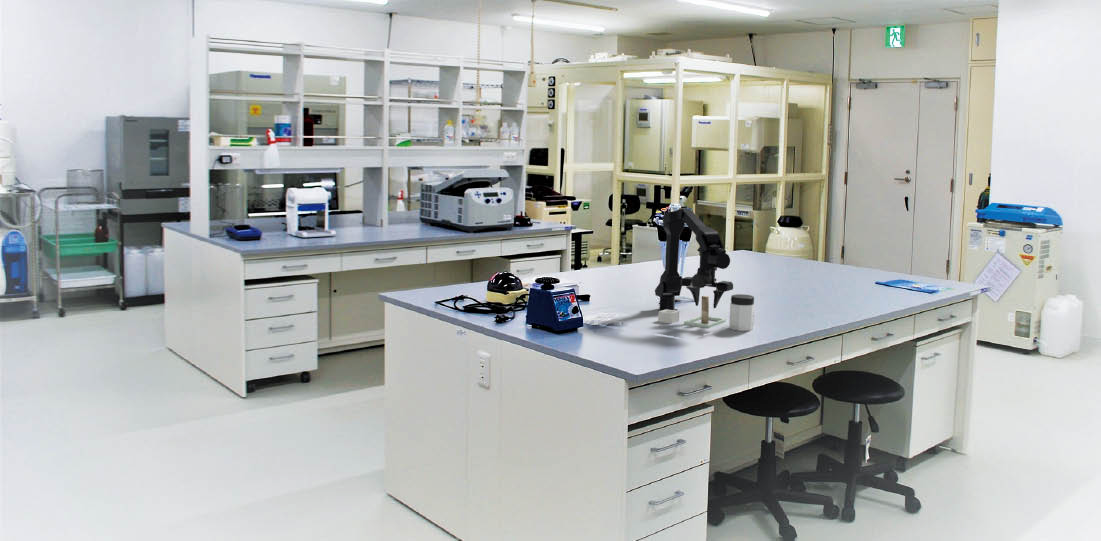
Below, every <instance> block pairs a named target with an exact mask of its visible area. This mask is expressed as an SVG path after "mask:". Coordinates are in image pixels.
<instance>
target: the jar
mask: <svg viewBox="0 0 1101 541" xmlns="http://www.w3.org/2000/svg"><path fill="white" fill-rule="evenodd" d="M754 319H755V296H754V295H751V294H741V293H740V294H737V293H736V294H732V295H731V297H730V305H729V324H728V326H729V327H728V328H729V330H733V331H738V332H751V331H752V330H753V329H754V323H755V322H754Z"/></svg>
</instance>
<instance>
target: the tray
mask: <svg viewBox="0 0 1101 541" xmlns="http://www.w3.org/2000/svg"><path fill="white" fill-rule="evenodd" d="M700 320H701V315H700V316H697V317H694V318H690V319H688V320H685V321H684V322H683V325H686V326H687V325H688V326H691V327H699V328H706V329H710V328H713V327H716V326H719V325H721V324H724V323H726V322H727V319H726V318H720V317H715V316H714V317H713V316H709V321H714V322H712V323H708V324H703V323H701V322H697V321H700Z"/></svg>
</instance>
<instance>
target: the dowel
mask: <svg viewBox="0 0 1101 541" xmlns="http://www.w3.org/2000/svg"><path fill="white" fill-rule="evenodd" d="M709 296H710V295H708V296H707V295H703V296H701V313H700V314H701V315H700V316H701V322H700V323H701V324H707V325H708V324H710V323H709V321H710V320H709V317H710V316H709V311H710V310H709V309H710V297H709Z"/></svg>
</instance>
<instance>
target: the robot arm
mask: <svg viewBox="0 0 1101 541" xmlns="http://www.w3.org/2000/svg"><path fill="white" fill-rule="evenodd" d="M685 225H686V226H687V227H688V228H689V229H690V230H691V231H692V233H693V234H694V235H695V241H696V242H697V244H698V245H699V246H700V247H699V248H697V250H696V251H697V252H700V253H699V267H697V270H696V271H697V272H696V273H695V274H694V275H693V276H685V277H683V276H682V275H681V274H680V273H679V272H678V268H679V255H680V254H679V251H680V250H679V249H680V236H681V234H682V232H683V230H684V229H685ZM662 227H663V229H664V231H665V233H666V242H665V244H666V245H665V246H666V247H665V260H664V261H665V265H664V271H663V273H662V274H661V275H660V278H659V283H658V284H657V286H656V288H655V289H654V294H655V296H657V297H659V311H662V310H666V309H667V310H674V311H679V309H677V308H675V304H676V303H675V302H676V298H675V297H680V295H681V291H682V287H685V288H686V290H689V291H690V293H691V294H692V297H693V300H694V303H695V306H696V307H698V306H699V302H700V293H701V292H700V291H701V289H703V288H705V287H707V288H708V287H709V288H715V290H713V291H712V292H713V304H712V306H713V309H717V306H718V304H719V302H720V300H721V298H722V296H723V294H724V293H725V292H729V291H732V290H734V284H733V282H732V281H727V280H722V281H718V282H717V278H716V271H717V270H718V269H721V270H726V269H727V268H728V267H729V266H730V263H731V257H730V255H729V254H728V253H727V250H726V249H725V247H724V243H723V242H722V239H721V236H720V234H719V232H718V231H717V230H715V229H714V228H712V227H709V226H707V225H705V223H703V221H702V219H700V218H699V217H698V216H697V215H696V214H695V213H694V211H693V209H692V208H690V207H685V208H684V207H683V208H678V209H677V210H673V211H666V212H665V213H664V214H663V215H662Z"/></svg>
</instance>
